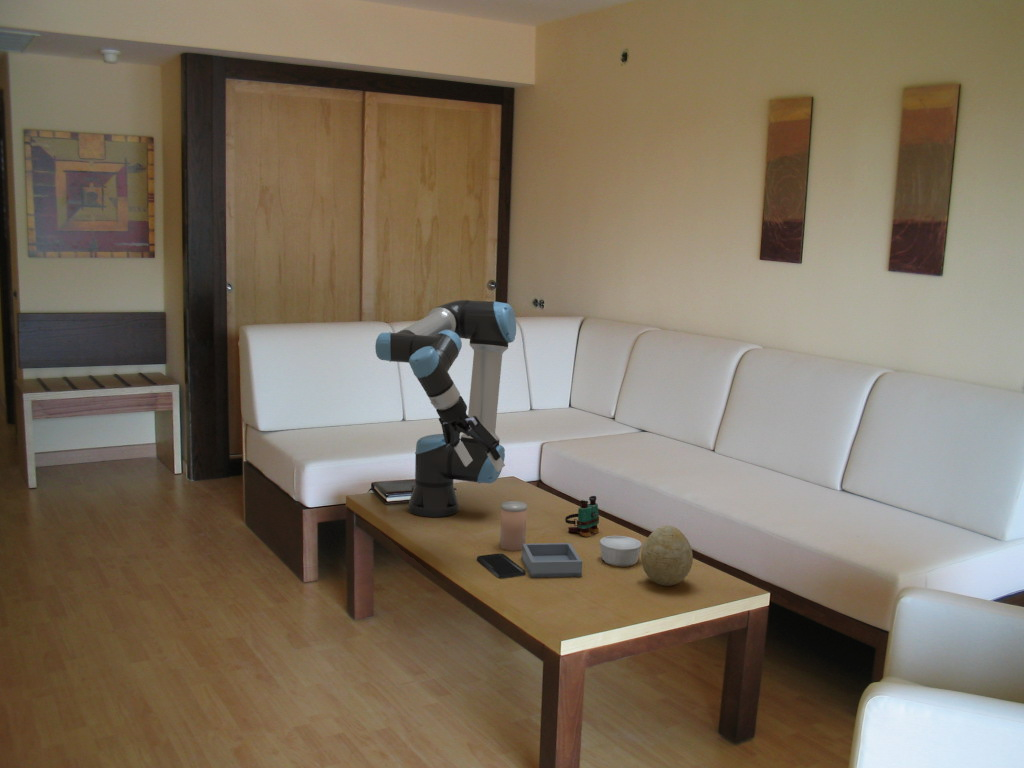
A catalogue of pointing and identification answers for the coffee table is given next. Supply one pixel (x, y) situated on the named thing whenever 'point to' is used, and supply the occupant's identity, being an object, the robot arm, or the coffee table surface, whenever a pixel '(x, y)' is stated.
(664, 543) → the fossilized egg
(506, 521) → the beige round cylinder
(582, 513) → the binoculars
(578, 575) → the tray
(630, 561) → the ramekin
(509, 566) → the phone
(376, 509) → the coffee table surface
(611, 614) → the coffee table surface
